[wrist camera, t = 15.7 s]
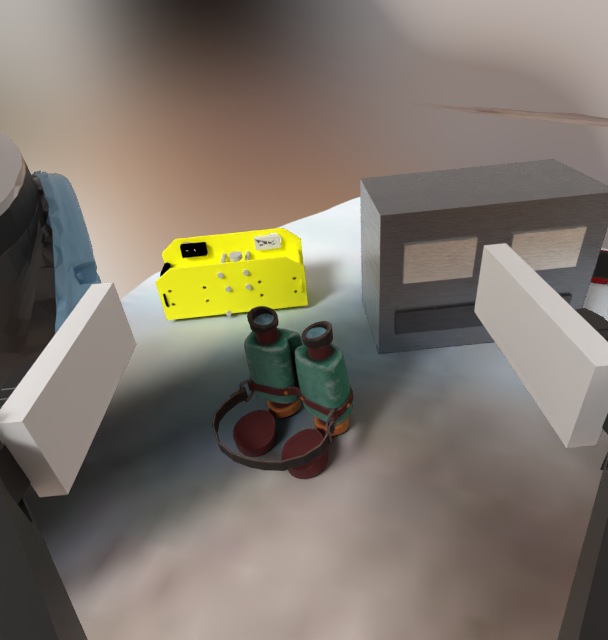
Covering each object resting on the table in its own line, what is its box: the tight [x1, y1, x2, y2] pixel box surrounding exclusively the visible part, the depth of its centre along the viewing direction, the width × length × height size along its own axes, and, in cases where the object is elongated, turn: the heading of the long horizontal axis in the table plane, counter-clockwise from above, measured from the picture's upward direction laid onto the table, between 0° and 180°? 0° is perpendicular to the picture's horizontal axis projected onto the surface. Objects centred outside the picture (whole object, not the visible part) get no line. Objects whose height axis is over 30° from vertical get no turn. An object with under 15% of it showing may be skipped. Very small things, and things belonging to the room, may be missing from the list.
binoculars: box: [212, 306, 353, 479], centre depth 32 cm, size 9×11×10 cm
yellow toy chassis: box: [156, 228, 308, 320], centre depth 50 cm, size 16×6×8 cm, turn 94°
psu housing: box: [360, 159, 608, 354], centre depth 43 cm, size 19×10×14 cm, turn 93°
